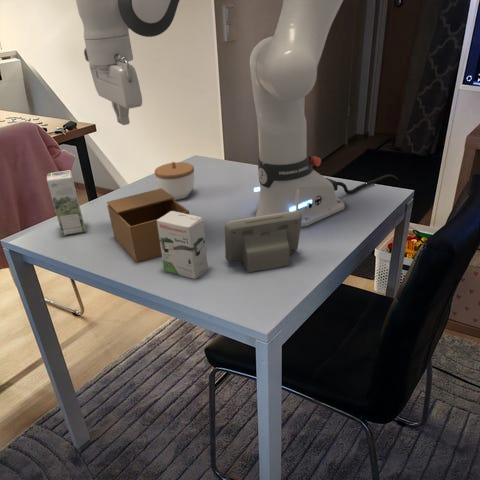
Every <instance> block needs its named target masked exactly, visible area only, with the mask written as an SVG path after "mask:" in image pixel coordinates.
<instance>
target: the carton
mask: <svg viewBox="0 0 480 480" xmlns="http://www.w3.org/2000/svg"><path fill="white" fill-rule="evenodd" d="M107 211H108V215H109V219H110V225H111V230H112V233H113V238H114V239H115V240H116V241H117V243H119V245H120V246H121V247H122V249H124V250H125V251H126V252H127V253H128V254H129V256H130V257H131V258H132V259H133V260H134V261H135V262H136V263H141V262H144V261H148V260H150V259H154V258H157V257H160V256H161V257H162V253H161V246H160V239H159V233H158V226H157V220H158V219H159V218H161V217H162V216H164V215H166V214H167V213H169V212H171V211H175V212H180V213H184V214H189V215H191V214H190V211H189V210H188V209H187V208H186V207H184V206H183V205H181V203H179V202H177V200H173V199H172V200H168V201H164V202H161V203H157V204H153V205H149V206H145V207H142V208H138V209H134V210H130V211H126V212H122V213H119V214H117V213H116V212H115V211H114V210H113V209H112V208H111V207H110V206H109V205H108V204H107Z"/></svg>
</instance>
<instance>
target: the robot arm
mask: <svg viewBox="0 0 480 480" xmlns="http://www.w3.org/2000/svg"><path fill="white" fill-rule="evenodd" d="M180 1H181V0H75V3H76V6H77V7H76V8H77V12H78V16H79V17H80V19H81V22H82V25H83V39H84V44H85V48H84V49H83V55H84V59H85V61H86V62H88V65H89V71H90V74H91V78H92V81H93V84H94V87H95V88H94V89H95V91H96V92H97V95H98V96H99V97H101V98H103V99H105V100H107V101H110V102H111V106H112V109H113V111H114V113H115V117H116V121H117V123H119V124H121V125H123V126H126V125H129V124H130V122H131V121H130V116H129V115H130V110H131V109H136V108H140V107H142V106H143V96H142V91H141V86H140V82H139V78H138V74H137V71H136V69H135V67H134V66H133V64H131V63H129V62H131V61H133V60H134V55H133V49H132V43H131V38H130V33H129V30H130V31H132V32H133V33H135V34H136V35H138V36H141V37H146V38H152V37H157V36H159V35H162V34H163V33H165V32H166V31H167V30H168V29H169V27H170V26H171V25H172V23H173V21H174V19H175V16H176V13H177V9H178V7H179V3H180ZM343 2H344V0H282V7H281V11H280V15H279V18H278V22H277V25H276V28H275V31H274V33H273V36H269V37H266V38H264V39H262V40H260V41H259V42H258V43H257V44H256V45H255V46H254V47H253V49H252V50H251V53H250V57H249V69H250V79H251V87H252V96H253V102H254V109H255V114H256V115H255V116H256V121H257V133H258V134H257V135H258V151H259V153H258V155H259V158H257V171H258V173H257V174H258V181H259V186H257V187H254V188H253V192H254V193H256V192H259V194H258V203H257V209H256V212H255V217H257V216H264V215H270V214H276V213H283V212H290V211H298V212H301V214H302V222H301V227H308V226H311V225H312V224H315V223H316V222H319V221H322V220H323V219H325V218H328V217H330V216H332V215H334V214H336V213H338V212H340V211H343V210H345V202H344V201H343V200H341V199H340V198H339V197H336V191H338V188H339V187H341V188H342V189H343V191H344V193H345V194H348V195H353V194H354V193H356V192H357V191H359V190H361V189H363V188H366V187H368V186H371V185H374V184H378V182H381V181H383V180H386V179H392V180H394V181H397V180H399V178H398V177H397V176H395V175H394V174H385V175H381V176H380V177H377V178H375V179H372V180H369V181H367V182H364V183H362V184H360V185H357V186H356V187H354V188H352V189H348V187H347V185H346V183H344V182H342V181H336V180H334V179H331V178H329V177H325V176H323V175H322V174H320V173H319V172H317V171H316V170H315V169H314V168H313V166H315V167H320V166H321V164H322V158H321V157H318V156H315V155H313V156H311V155H309V154H307V153H308V152H307V151H308V149H307V148H308V147H307V146H308V142H307V140H308V139H307V137H308V136H307V132H308V131H307V127H308V125H307V118H306V114H305V110H304V109H305V108H304V105H303V104H304V103H303V98H305V97H306V96H307V95H308V94H309V93H310V92H311V91H312V90H313V88H314V86H315V84H316V82H317V76H318V67H319V64H320V60H321V57H322V55H323V51H324V48H325V45H326V41H327V38H328V35H329V32H330V29H331V27H332V25H333V22H334V20H335V18H336V16H337V14H338V12H339V11H340V8H341V6H342V4H343ZM366 183H367V184H366ZM338 186H339V187H338Z"/></svg>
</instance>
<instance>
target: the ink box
mask: <svg viewBox="0 0 480 480" xmlns="http://www.w3.org/2000/svg"><path fill="white" fill-rule="evenodd" d="M189 214H190V213H189ZM189 214H184V213H180V212H175V211H171V212H169V213H167V214H166V215H164V216H162V217H161V218H159V219H158V220H157V226H158V233H159V239H160V246H161V253H162V255H161V259H162V266H163V271H164V272H166V273H171V274H175V275H178V276H182V277H186V278H189V279H193V280H196V279H198V278H200V277H201V276H202V275H203V274H205V273H206V272H208V270H209V265H208V255H207V246H206V245H207V244H206V235H205V227H204V218H203V217H202V216H198V215H194V214H190V215H189Z"/></svg>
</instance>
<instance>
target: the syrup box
mask: <svg viewBox="0 0 480 480" xmlns="http://www.w3.org/2000/svg"><path fill="white" fill-rule="evenodd" d="M46 182H47V186H48V190H49V194H50V196H51V200H52V204H53V208H54V212H55V214H56V218H57V222H58V226H59V228H60V232H61V236H63V237H64V236H70V235H71V236H72V235H76V234H82V233H86V227H85V221H84V217H83V214H82V209H81V206H80V202H79V198H78V193H77V190H76V189H77V188H76V186H75V185H76V184H75V181H74V177H73V173H72V170H71V169H67V170H62V171H55V172H48V173H47V174H46Z"/></svg>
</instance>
